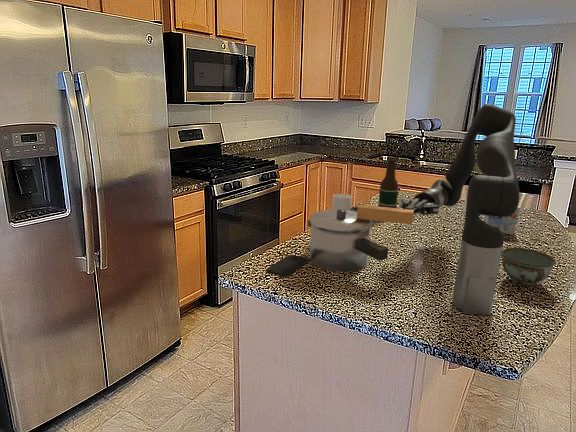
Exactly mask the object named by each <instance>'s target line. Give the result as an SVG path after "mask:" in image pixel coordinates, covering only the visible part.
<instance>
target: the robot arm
mask: <svg viewBox="0 0 576 432" xmlns="http://www.w3.org/2000/svg"><path fill="white" fill-rule="evenodd" d="M516 121H517V119H516V115H515V114H514V113H513V112H512V111H510V110H507V109H506V108H503V107H500V106H497V105H495V104H492V103H484V104H483V105H482V106H481V107H480V108H479V109H478V111H477V113H476V115H475V116H474V118H473V120H472V122H471V124H470V126H469V128H468V130H467V132H466V134H465V136H464V139H463V140H462V143H461V146H460V147H459V150H458V152H457V154H456V156H455V158H454V159H453V161H452V162H451V165H450V166H449V168H448V169H447V171H446V173H445V175H444V176H445V179H440V178H439V179H438V180H436V181H435V182H434V183H433V184H432V185H431V187H430V188H428V189H426V190H423V191H421V192H419V193H417V194H416V195H415V196H414V198H412V199H409V200H407V199H405V198H401V199H400V209H407V210H414V212H413V215H417V214H420V215H423V216H427V215H438V214H439V212H440V208H441V207H442V206H445V207H448V208H450V207H451V208H452V207H454V206H455V205H457V204H458V203H459V201H460V198H461V196H462V193H463V189H464V187H465V183H466V181H467V180H468V179H469V177H470V176H471V175H472V173H473V171H474V169H475V166H476V164H477V166H478V167H477V168H478V169H479V170H480V171H481V173H482V174H476V175H473V176H472V177H471V179H470V181H469V183H468V187H467V196H466V205H465V216H464V223H463V229H462V235H461V241H460V242H461V243H460V247H459V255H458V262H457V267H456V274H455V281H454V287H453V293H452V294H453V295H452V300H451V302H452V305H454V307H456V308H457V309H459V310H461V311H462V313H463V314H470V315H482V316H491V311H492V308H493V304H494V298H495V292H496V286H497V280H498V274H499V270H500V264H501V260H502V250H504V248H503V247H504V242H505V233H503V232H502V231H500V230H499V229H497V228H495V227H492V226H490V225H488V224H487V223H485V222H484V220H483V219H482V218H481V217H480V215H484V216H485V215H489V216H498V217H508V216H511V215H513V214H514V213H515V211H516V210H517V207H519V203H520V187H519V181H518V177H517V173H516V152H515V151H516V150H515V143H514V142H515V139H514V136H515V129H516ZM478 135H481V136H484V138H483V139H481V141H480V143H479V144H478V147H477V150H476V147H475V146H476V139H477V136H478Z"/></svg>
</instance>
